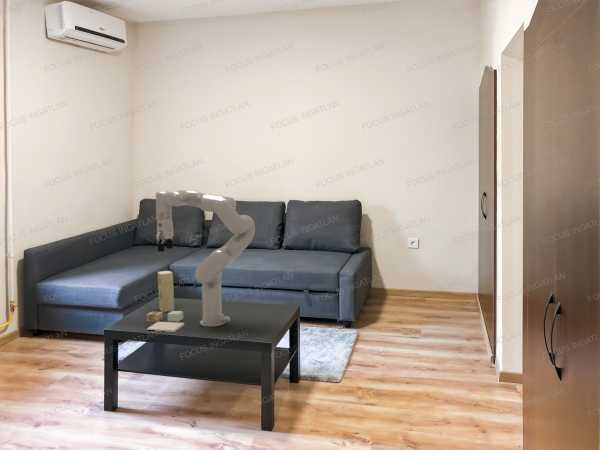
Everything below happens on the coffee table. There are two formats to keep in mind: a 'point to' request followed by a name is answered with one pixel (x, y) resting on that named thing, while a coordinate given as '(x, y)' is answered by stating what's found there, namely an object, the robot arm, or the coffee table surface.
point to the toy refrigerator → (166, 291)
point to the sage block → (175, 316)
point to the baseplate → (166, 326)
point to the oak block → (155, 316)
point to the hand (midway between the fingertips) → (165, 249)
